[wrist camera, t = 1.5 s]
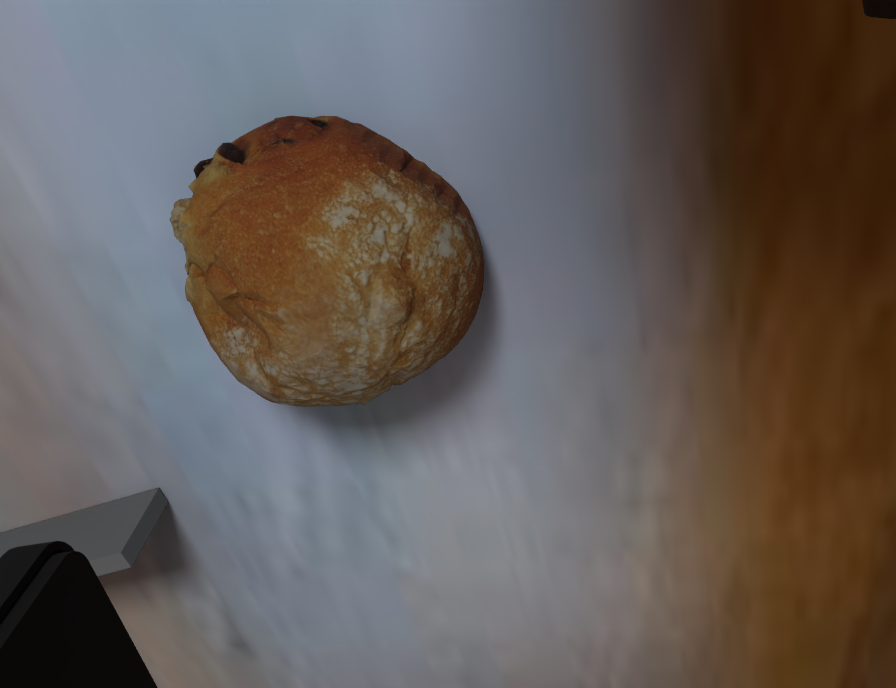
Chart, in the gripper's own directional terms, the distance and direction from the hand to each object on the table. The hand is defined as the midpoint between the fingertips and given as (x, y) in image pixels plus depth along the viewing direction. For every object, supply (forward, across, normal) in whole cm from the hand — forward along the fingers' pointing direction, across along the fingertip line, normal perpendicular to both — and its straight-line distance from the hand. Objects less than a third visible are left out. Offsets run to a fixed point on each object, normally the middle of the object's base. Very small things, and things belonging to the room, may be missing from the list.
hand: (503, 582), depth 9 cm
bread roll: (+22, +7, +3) cm, 23 cm away
